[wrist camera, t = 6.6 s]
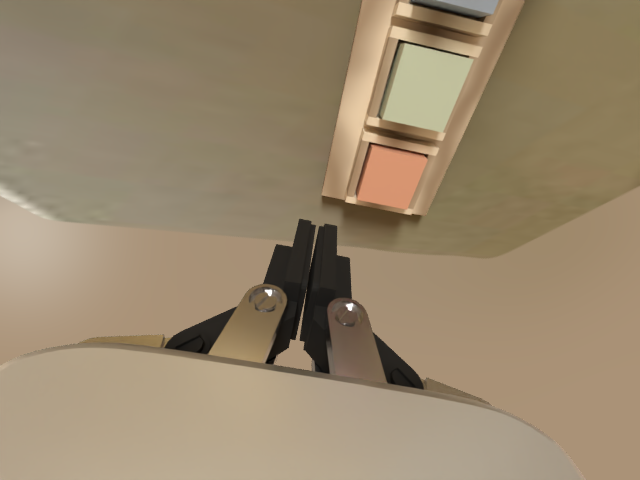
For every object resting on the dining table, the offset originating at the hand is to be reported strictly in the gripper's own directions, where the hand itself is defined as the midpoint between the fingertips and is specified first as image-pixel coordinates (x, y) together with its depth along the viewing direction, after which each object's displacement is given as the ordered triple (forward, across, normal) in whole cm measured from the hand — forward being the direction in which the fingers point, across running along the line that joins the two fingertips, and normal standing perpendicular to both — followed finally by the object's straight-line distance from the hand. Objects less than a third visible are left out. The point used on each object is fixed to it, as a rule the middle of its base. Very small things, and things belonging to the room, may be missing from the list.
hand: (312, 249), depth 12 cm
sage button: (+22, -8, -6) cm, 24 cm away
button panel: (+25, -8, -6) cm, 27 cm away
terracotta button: (+22, -8, +3) cm, 24 cm away
